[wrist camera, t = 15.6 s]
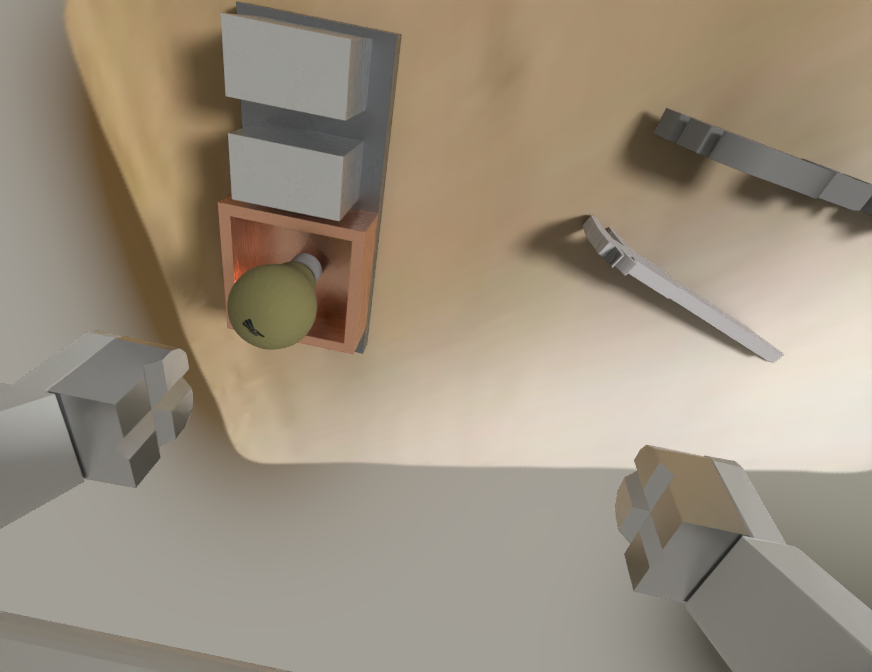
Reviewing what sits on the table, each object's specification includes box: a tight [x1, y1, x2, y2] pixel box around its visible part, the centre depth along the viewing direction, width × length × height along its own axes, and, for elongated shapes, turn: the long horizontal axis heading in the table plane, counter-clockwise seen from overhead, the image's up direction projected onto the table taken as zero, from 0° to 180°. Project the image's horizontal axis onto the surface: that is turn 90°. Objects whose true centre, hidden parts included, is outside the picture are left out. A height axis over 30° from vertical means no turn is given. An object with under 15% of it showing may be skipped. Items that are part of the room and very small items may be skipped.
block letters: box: [653, 108, 872, 215], centre depth 30 cm, size 25×2×6 cm, turn 73°
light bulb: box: [227, 253, 322, 349], centre depth 34 cm, size 6×6×10 cm
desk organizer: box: [218, 2, 402, 354], centre depth 34 cm, size 24×10×6 cm, turn 170°
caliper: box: [582, 215, 784, 363], centre depth 35 cm, size 20×1×6 cm, turn 58°
